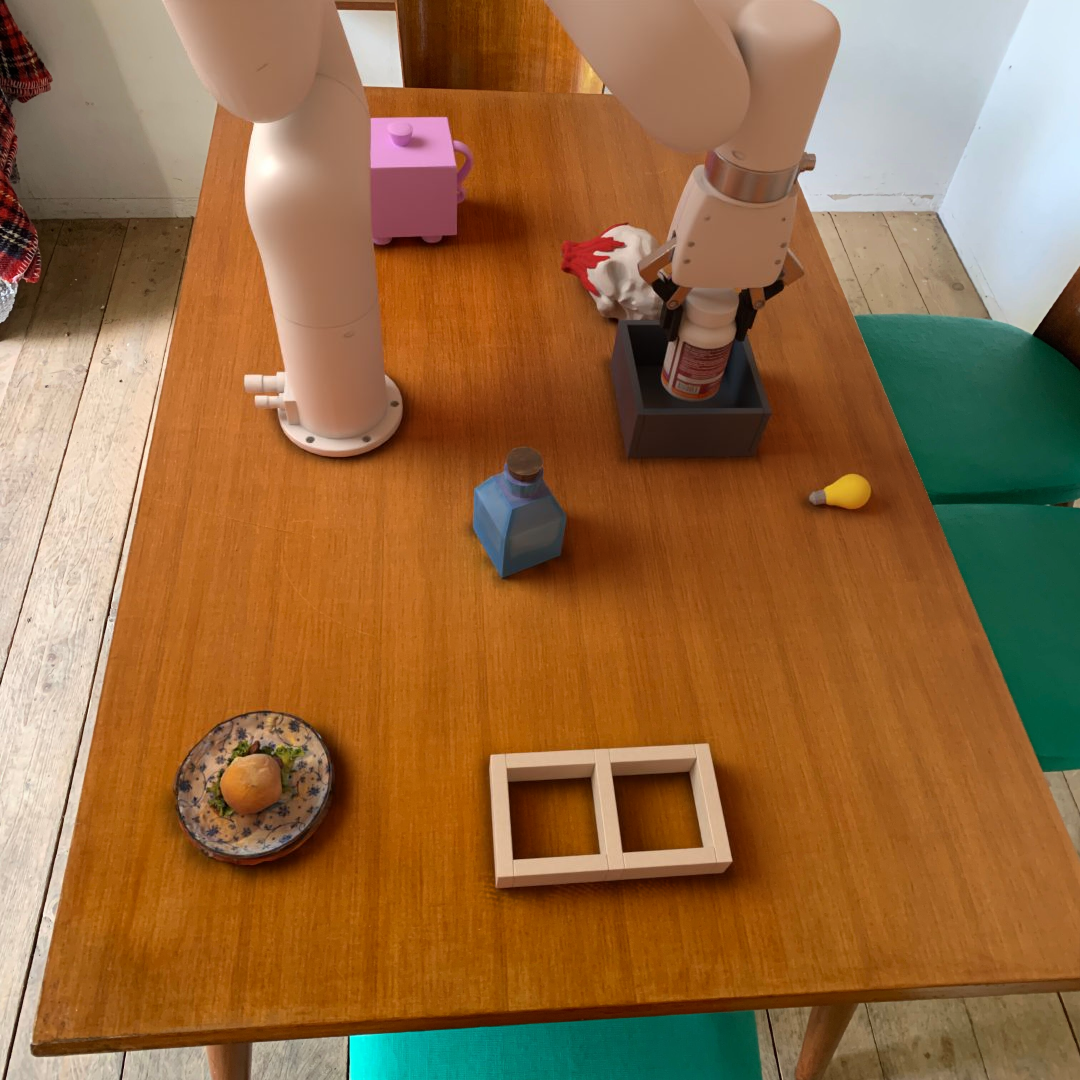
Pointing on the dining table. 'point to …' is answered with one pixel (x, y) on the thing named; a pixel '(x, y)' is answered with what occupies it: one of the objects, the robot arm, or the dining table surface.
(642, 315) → the candle
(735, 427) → the dark grey open box
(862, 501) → the light bulb
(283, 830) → the burger
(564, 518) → the perfume bottle
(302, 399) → the robot arm
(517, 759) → the frame
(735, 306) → the pill bottle
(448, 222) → the teapot
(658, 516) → the dining table surface
